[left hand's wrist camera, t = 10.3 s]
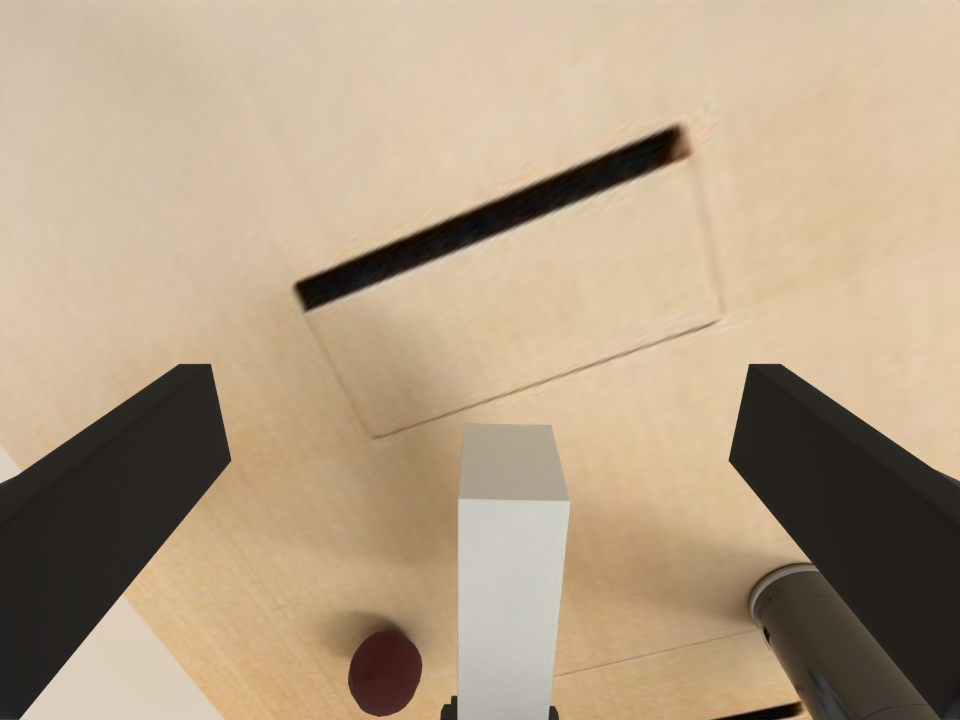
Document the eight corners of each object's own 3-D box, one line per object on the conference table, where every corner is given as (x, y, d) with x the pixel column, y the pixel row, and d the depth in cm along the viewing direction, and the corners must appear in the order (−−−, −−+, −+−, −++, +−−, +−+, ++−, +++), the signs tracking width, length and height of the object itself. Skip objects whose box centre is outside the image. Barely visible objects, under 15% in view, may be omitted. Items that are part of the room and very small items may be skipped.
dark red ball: (373, 672, 57) (360, 739, 51) (345, 624, 54) (327, 688, 48) (435, 657, 56) (429, 723, 50) (409, 608, 54) (399, 671, 47)
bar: (463, 423, 33) (457, 499, 26) (551, 424, 33) (570, 501, 26) (462, 684, 42) (457, 795, 35) (531, 685, 42) (540, 796, 35)
